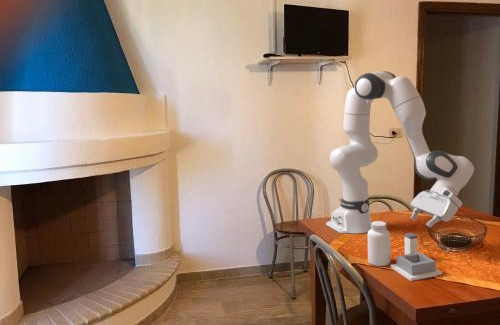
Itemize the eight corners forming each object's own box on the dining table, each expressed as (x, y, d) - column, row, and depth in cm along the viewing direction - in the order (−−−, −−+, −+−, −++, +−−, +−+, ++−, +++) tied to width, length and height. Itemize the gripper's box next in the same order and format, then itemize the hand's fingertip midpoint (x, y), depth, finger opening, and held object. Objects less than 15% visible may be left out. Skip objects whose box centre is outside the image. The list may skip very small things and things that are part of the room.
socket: (390, 267, 154) (390, 255, 153) (420, 262, 157) (420, 250, 156) (410, 280, 143) (410, 268, 142) (442, 274, 145) (442, 262, 145)
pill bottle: (387, 268, 154) (386, 227, 151) (365, 264, 158) (364, 225, 156) (393, 260, 160) (392, 221, 158) (371, 257, 165) (370, 218, 162)
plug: (404, 256, 163) (404, 233, 161) (411, 255, 163) (411, 232, 162) (410, 260, 159) (410, 236, 158) (417, 258, 160) (417, 235, 159)
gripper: (420, 184, 175) (399, 211, 174) (455, 194, 155) (431, 225, 154) (429, 193, 176) (409, 220, 176) (466, 205, 157) (442, 235, 156)
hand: (420, 222), depth 165 cm, fingers open, 8 cm apart
